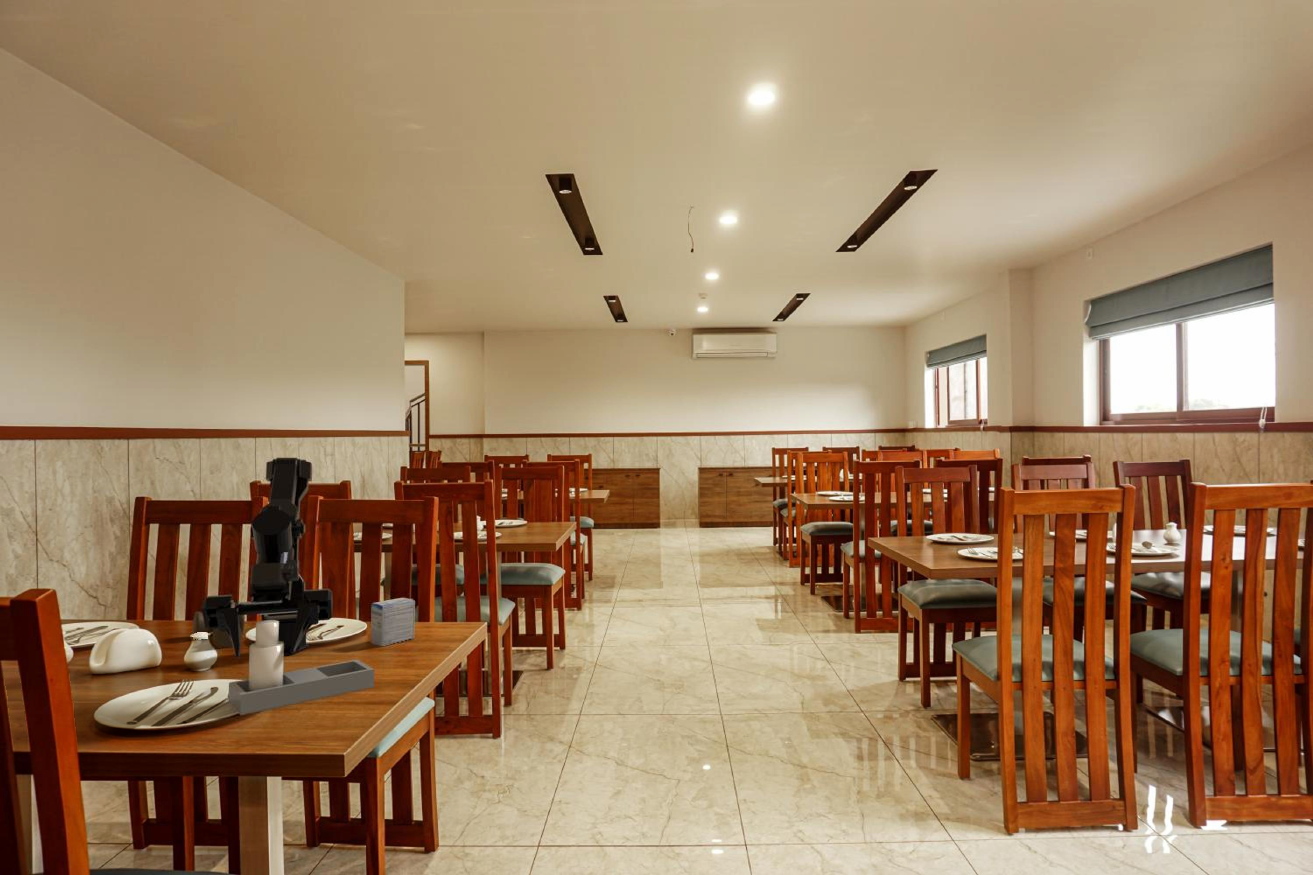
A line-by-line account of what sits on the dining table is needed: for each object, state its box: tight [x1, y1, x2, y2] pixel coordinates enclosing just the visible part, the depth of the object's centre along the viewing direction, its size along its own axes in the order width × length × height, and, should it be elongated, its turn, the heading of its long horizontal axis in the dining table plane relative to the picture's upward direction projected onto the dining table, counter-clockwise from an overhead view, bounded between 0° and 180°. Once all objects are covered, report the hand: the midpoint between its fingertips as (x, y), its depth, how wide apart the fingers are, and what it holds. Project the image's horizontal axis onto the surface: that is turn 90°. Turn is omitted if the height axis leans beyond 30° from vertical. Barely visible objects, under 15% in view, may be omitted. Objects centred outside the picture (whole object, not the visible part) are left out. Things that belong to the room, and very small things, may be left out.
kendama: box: [192, 611, 246, 649], centre depth 158 cm, size 6×10×20 cm
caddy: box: [228, 659, 375, 716], centre depth 119 cm, size 8×20×4 cm, turn 132°
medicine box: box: [370, 597, 416, 647], centre depth 156 cm, size 8×4×9 cm, turn 144°
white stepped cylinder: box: [248, 620, 285, 692], centre depth 115 cm, size 5×5×12 cm
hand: (265, 653), depth 114 cm, fingers open, 7 cm apart
